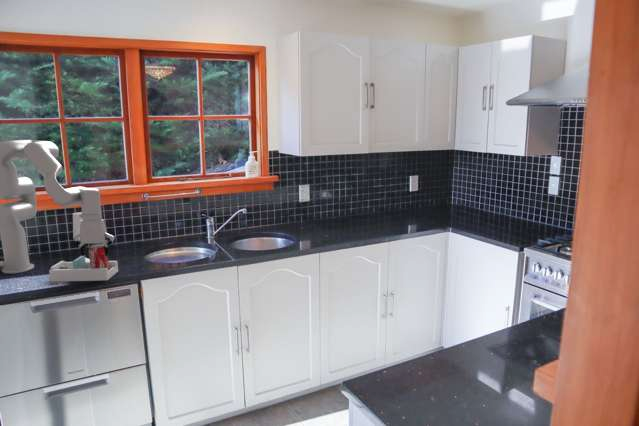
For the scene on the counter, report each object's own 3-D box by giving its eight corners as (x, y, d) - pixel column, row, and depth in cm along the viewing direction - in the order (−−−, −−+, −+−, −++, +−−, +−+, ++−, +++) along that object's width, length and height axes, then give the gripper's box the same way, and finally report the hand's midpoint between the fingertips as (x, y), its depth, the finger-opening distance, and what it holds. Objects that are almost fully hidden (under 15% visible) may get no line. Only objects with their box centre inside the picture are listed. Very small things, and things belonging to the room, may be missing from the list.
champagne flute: (84, 263, 223) (78, 214, 218) (73, 262, 225) (67, 214, 220) (94, 259, 229) (89, 212, 225) (83, 258, 231) (78, 211, 227)
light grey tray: (50, 281, 199) (48, 268, 198) (64, 272, 211) (63, 259, 209) (107, 280, 200) (106, 266, 198) (118, 271, 211) (117, 258, 210)
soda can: (104, 270, 210) (101, 242, 207) (112, 273, 205) (109, 245, 203) (88, 274, 205) (85, 245, 202) (96, 277, 200) (92, 248, 197)
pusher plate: (74, 276, 201) (72, 261, 199) (83, 270, 209) (81, 255, 207) (77, 276, 201) (75, 261, 199) (86, 270, 209) (84, 255, 207)
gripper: (67, 218, 196) (71, 257, 200) (109, 219, 197) (112, 257, 200) (75, 215, 203) (79, 252, 207) (116, 215, 204) (119, 252, 207)
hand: (95, 255), depth 204 cm, fingers open, 9 cm apart
